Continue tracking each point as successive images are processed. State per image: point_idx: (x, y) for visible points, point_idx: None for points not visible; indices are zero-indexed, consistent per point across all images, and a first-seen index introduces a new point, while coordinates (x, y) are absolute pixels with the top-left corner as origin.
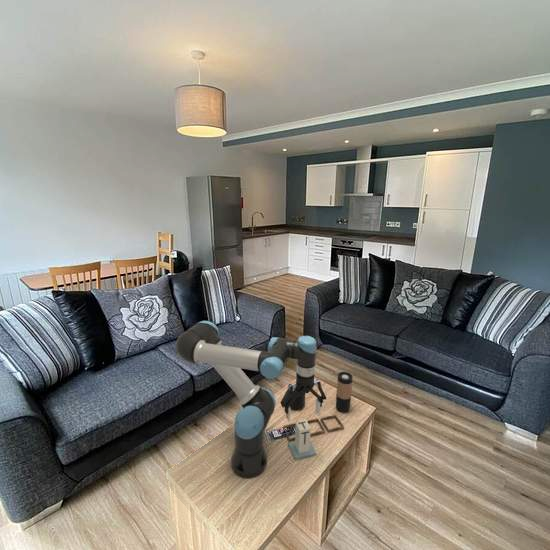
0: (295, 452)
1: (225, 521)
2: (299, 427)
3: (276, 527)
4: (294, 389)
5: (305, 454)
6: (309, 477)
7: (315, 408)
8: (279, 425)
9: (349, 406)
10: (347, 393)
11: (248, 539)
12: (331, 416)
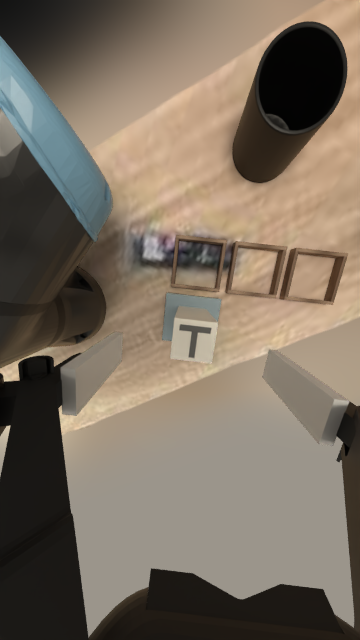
0: (170, 326)
1: None
2: (175, 345)
3: (87, 426)
4: (300, 58)
5: None
6: (172, 380)
7: (278, 356)
8: (171, 222)
9: None
10: None
11: None
12: (330, 255)
